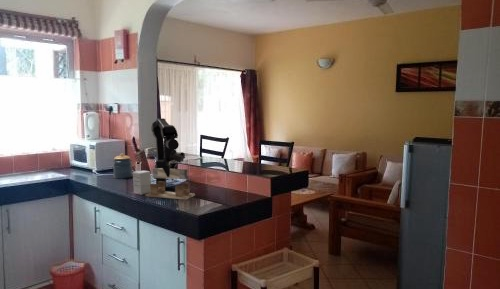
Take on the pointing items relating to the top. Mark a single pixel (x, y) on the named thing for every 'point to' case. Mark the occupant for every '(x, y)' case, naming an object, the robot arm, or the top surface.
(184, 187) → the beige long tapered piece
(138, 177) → the supplement box
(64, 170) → the top surface
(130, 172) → the canister
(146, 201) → the top surface
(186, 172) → the rail
